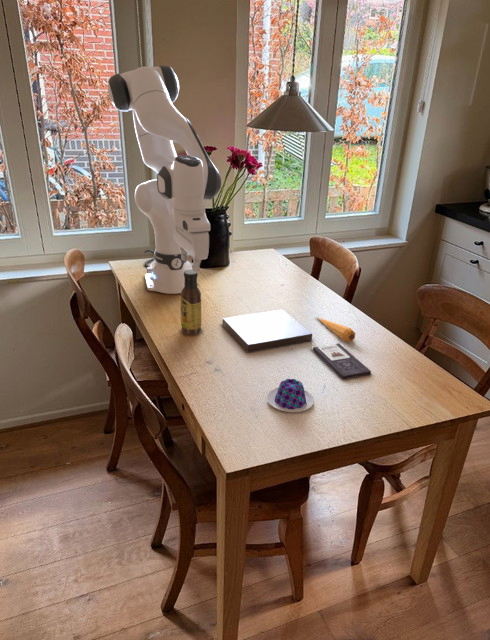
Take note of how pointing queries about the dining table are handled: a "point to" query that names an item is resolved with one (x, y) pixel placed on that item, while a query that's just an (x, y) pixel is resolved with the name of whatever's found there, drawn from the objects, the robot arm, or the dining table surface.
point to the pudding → (290, 396)
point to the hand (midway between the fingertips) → (190, 265)
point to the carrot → (340, 330)
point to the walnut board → (266, 330)
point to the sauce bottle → (191, 304)
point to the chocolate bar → (341, 361)
